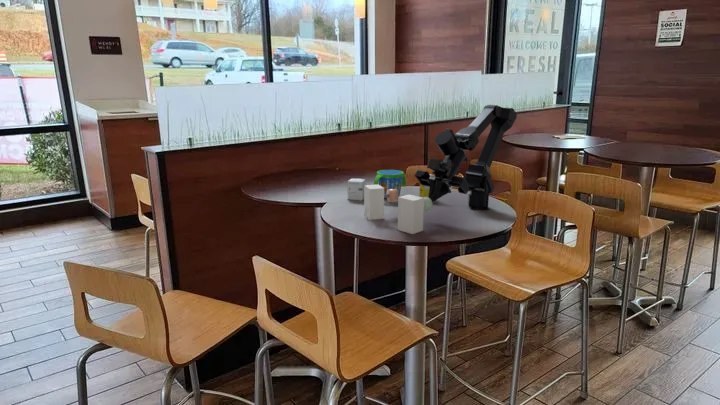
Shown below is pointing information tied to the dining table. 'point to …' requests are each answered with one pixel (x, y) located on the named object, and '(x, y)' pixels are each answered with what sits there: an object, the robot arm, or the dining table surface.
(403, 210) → the sage button housing
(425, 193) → the supplement bottle
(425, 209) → the sage button
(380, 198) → the white tall block
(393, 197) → the terracotta button
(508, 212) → the dining table surface
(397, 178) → the snack cup
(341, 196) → the dining table surface
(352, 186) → the skincare box
